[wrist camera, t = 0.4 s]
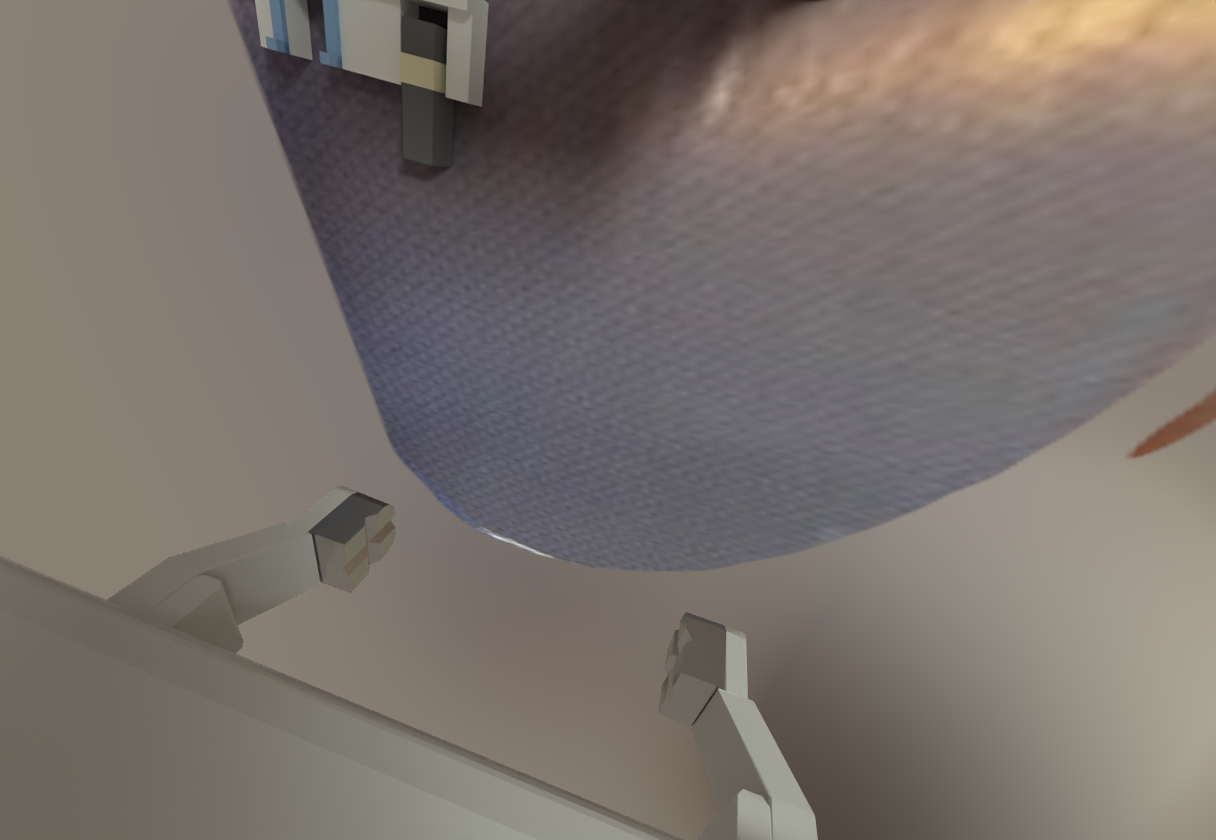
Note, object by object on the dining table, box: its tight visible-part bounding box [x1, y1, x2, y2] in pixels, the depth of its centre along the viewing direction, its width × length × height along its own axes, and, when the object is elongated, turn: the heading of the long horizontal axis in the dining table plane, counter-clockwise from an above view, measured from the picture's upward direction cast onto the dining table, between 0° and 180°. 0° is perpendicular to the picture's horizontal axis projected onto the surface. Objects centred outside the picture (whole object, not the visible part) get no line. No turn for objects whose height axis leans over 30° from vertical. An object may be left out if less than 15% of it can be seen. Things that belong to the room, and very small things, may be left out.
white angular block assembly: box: [255, 0, 489, 107], centre depth 45 cm, size 8×24×5 cm, turn 77°
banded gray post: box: [400, 15, 454, 166], centre depth 47 cm, size 12×4×4 cm, turn 167°
